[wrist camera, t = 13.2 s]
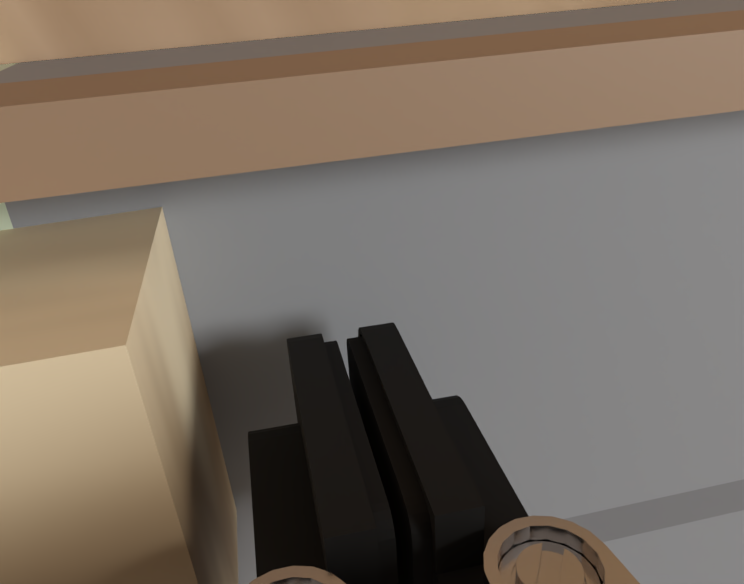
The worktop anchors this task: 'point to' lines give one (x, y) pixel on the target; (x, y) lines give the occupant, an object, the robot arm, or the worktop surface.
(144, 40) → the worktop surface
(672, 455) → the trap deck
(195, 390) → the block
